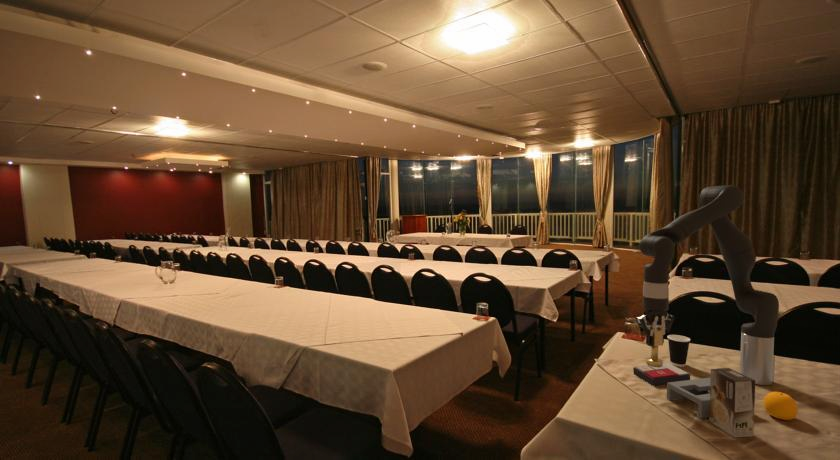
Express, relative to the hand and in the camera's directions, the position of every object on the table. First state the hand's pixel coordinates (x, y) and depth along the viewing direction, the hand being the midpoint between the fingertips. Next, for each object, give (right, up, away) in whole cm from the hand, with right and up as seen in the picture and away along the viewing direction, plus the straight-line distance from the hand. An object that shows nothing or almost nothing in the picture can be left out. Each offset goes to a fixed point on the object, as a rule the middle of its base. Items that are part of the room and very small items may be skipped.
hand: (654, 345), depth 136 cm
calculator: (+10, -17, +14) cm, 24 cm away
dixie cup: (+25, -16, +27) cm, 40 cm away
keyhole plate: (+13, -18, -6) cm, 23 cm away
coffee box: (+10, -19, -20) cm, 29 cm away
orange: (+30, -18, -14) cm, 38 cm away
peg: (0, -7, 0) cm, 7 cm away
